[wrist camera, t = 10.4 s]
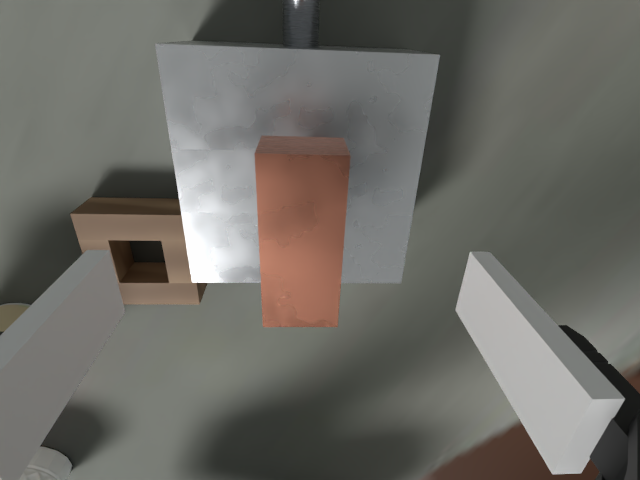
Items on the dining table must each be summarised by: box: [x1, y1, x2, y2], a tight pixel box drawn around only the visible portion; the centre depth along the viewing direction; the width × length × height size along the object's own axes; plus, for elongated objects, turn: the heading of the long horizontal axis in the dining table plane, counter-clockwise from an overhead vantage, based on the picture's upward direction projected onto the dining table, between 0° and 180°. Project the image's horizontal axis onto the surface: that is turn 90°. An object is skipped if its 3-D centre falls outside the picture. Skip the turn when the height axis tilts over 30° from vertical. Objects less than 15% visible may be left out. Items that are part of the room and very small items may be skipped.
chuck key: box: [254, 136, 350, 327], centre depth 20 cm, size 3×8×12 cm, turn 178°
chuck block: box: [155, 0, 440, 283], centre depth 23 cm, size 23×14×7 cm, turn 178°
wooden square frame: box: [70, 197, 207, 304], centre depth 30 cm, size 8×8×3 cm
